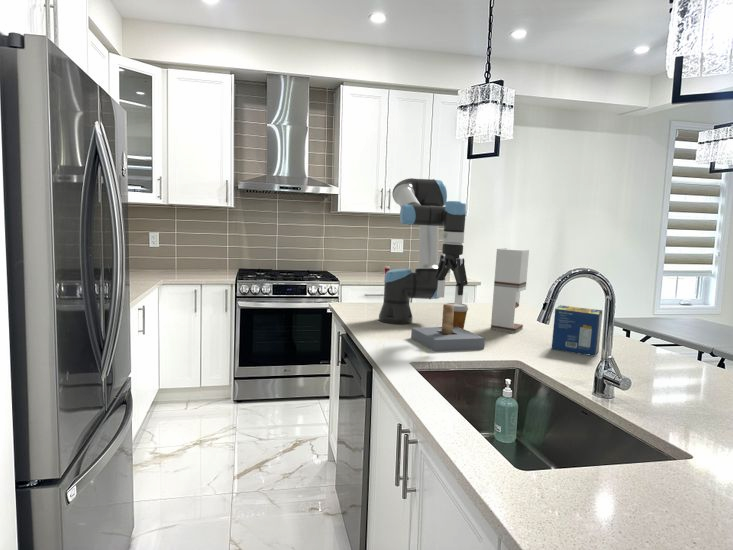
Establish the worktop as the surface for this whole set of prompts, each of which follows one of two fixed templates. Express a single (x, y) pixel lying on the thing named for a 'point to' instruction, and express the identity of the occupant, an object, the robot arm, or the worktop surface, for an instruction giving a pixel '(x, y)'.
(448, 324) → the oak peg
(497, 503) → the worktop surface
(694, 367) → the worktop surface
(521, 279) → the white banded pillar
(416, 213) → the robot arm
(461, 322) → the disposable coffee cup
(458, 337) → the socket block
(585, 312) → the protein box
